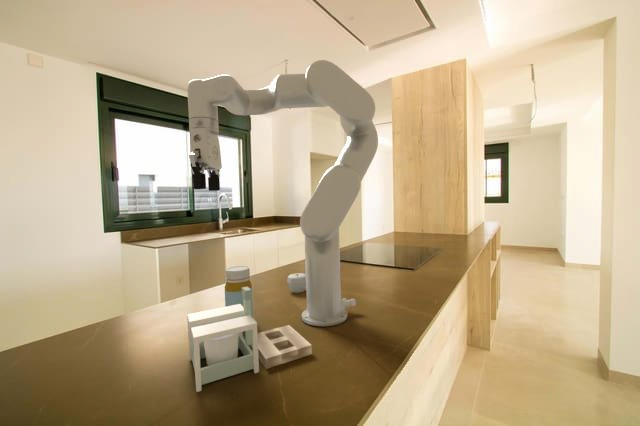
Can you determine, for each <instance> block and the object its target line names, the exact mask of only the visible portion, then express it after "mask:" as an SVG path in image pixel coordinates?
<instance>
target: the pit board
mask: <svg viewBox="0 0 640 426" xmlns="http://www.w3.org/2000/svg"><path fill="white" fill-rule="evenodd" d="M257 335H258V359H259V361H260V362H261V363H262V365H263V366H264V368H265V370H267V369H268V370H269V369H270V368H274V367H276V366H280V365H283V364H287V363H289V362H293V361H295V360H298V359H299V360H300V359H301V358H304V357H308V356H311V355H313V348H312V347H313V345H312V344H311V343H310V342H309V341H308V340H307V339H305V337H304V336H302V335H301V334H300V333H299V332H298V331H296V330H295V328H293V327H292V325H290V324H288V325H283V326H279V327H275V328H271V329H268V330H265V331H260V332H257ZM249 347H250V348H251V350H253V343H252V344H250V345H249Z"/></svg>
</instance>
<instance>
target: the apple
mask: <svg viewBox="0 0 640 426" xmlns="http://www.w3.org/2000/svg"><path fill="white" fill-rule="evenodd" d="M286 284H287V287H288V289H289V290H290V291H291V292H292V293H294V294H299V293H300V292H301V293H303V292H304V291H305V290H306V273H303V272H301V273H300V272H299V273H298V272H297V273H291V274H289V275H288V276H287V279H286Z"/></svg>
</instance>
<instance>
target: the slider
mask: <svg viewBox="0 0 640 426" xmlns="http://www.w3.org/2000/svg"><path fill="white" fill-rule="evenodd" d="M242 297H243V305H244V316H247V315H251V300H252V301H253V297H252V298H251V289H250V288H249V287H242ZM250 344H252V329H251V330H247V331H244V336H242V335H239V338H238V350H239V349H240V351H241V353H242V355H243V356H238V358H235V359H231V360H228V361H224V362H221V363H217V364H214V365H210V366H207V365H206V366H204V367H200V370H201V386H203V385H207V384H210V383H213V382H215V381H218V380H222V379H225V378H228V377H231V376H236V375H238V374H241V373H244V372H247V371H251V370H254V366H253V349H252V347H251V346H250ZM191 348H192V360H191V361H192V365H193V368H194V369H193V370H194V371H195V360H194V346H193V347H191ZM199 349H200V360H202V359H206V355H205V348H204V344H201V345H199Z"/></svg>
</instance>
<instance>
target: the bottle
mask: <svg viewBox="0 0 640 426" xmlns="http://www.w3.org/2000/svg"><path fill="white" fill-rule="evenodd" d="M250 274H251V273H250V267H249V266H248V265H247V266H246V265H240V266H239V265H237V266H230V267H227V268H225V285H224V304H225V306H224V307H227V306H232V305H237V304H241V305H242V306H243V307H244V305H243V297H242V287H249V288H250V289H251V298H252V300H251V317H252V318H253V319H254V309H253V308H254V306H253V288H252V287H253V285H252V282H251V280H250V279H251V275H250ZM243 316H244V315H243ZM243 316H242V317H243Z"/></svg>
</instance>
